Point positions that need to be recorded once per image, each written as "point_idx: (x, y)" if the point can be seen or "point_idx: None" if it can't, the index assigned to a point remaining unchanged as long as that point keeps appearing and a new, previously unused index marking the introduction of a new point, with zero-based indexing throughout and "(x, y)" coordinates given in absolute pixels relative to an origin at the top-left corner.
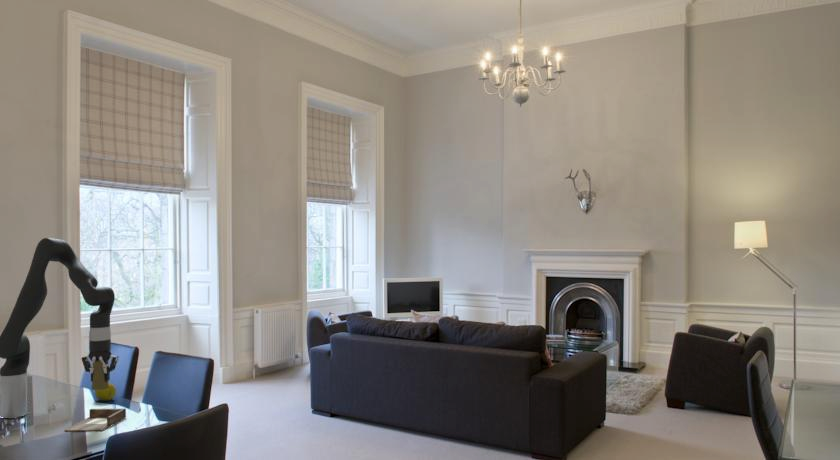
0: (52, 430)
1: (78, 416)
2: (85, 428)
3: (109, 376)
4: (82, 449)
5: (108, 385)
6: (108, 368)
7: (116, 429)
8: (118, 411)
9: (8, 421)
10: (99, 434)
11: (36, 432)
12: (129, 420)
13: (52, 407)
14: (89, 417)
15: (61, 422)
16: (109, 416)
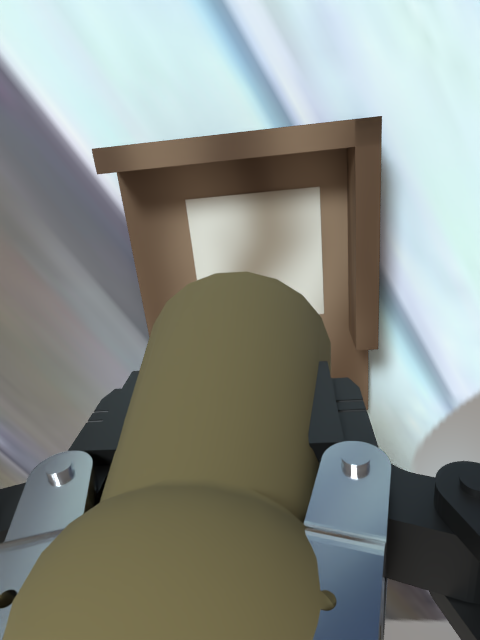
0: (90, 398)
1: (6, 128)
2: None
3: (368, 418)
4: (411, 597)
5: (322, 332)
6: (370, 517)
7: (432, 369)
8: (362, 207)
9: None
10: (380, 443)
11: (39, 427)
12: (432, 190)
13: None
14: (126, 184)
15: (14, 267)
16: (362, 331)
